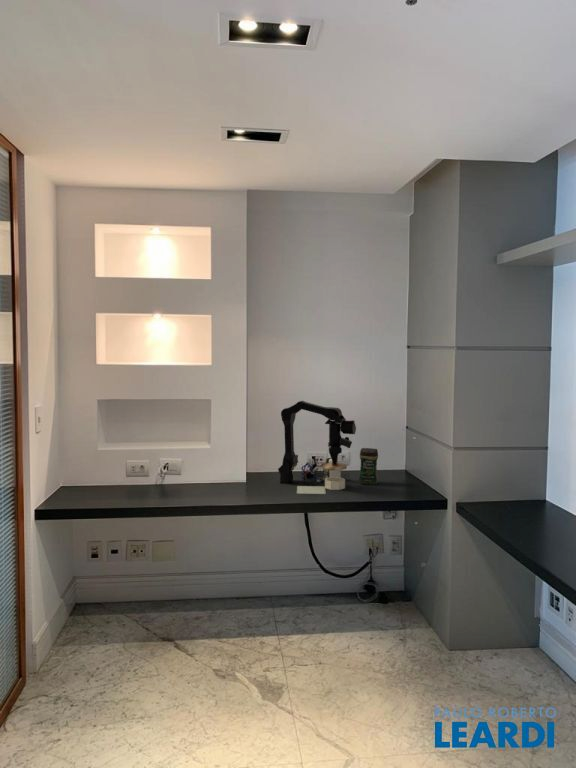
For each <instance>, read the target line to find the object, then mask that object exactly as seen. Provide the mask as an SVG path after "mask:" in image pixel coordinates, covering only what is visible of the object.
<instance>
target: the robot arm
mask: <svg viewBox="0 0 576 768" xmlns="http://www.w3.org/2000/svg"><path fill="white" fill-rule="evenodd" d="M302 410H304V411H307V412H311V413H313V414H318V415H322V416H323V417H325V418H326V419H327V421H325V425H329V426H328V443H327V446H328V453H329V455H330V458H332V461H333V464H334V465H336V462H337V457H338V456H339V455H340V454H342V452H343V451H342V449H343V448H342V446H343V447H346V448H348V449H350V448H351V447H352V443H353V442H352V441H351V440H350V438H349V437H348V436H345V437H342V435H341V433H342V434H344V435H356V432H357V426H356V423H355V420H353V419H352V420H347V419H346V417H344V415H343V412H342V410H341V409H340V408H339V407H333V406H332V407H331V406H329V407H328V406H327V407H326V406H323V405H319V404H314V403H311V402H307V401H304V400H300V401H297V402H296V403H295V404H292V405H291V406H289V407H286V408H283V409H282V410H281V412H280V415H281V421H282V424H283V426H284V455H283V458H282V464H281V465H280V466H279V468H277V470H278V473H279V475H280V477H279V484H281V485H283V484H285V485H288V484H289V485H290V484H291V485H292V484H293V483H294V473H293V471H294V469H295V468H296V467H297V466H298V463H299V459H298V457H299V455H298V454H296V453H295V447H294V446H295V445H294V441H295V440H294V438H295V437H294V422H295V420H296V414H298V413H299V412H301V411H302Z"/></svg>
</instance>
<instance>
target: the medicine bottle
mask: <svg viewBox="0 0 576 768" xmlns="http://www.w3.org/2000/svg"><path fill="white" fill-rule="evenodd" d="M326 463H332V458H331V457H328V458H326V459H325V464H326ZM341 471H342V470H327V469H324V468H323V467H322V480H323V479H324V480H323V481H325V478H329V477H340V478H342V477H341V476H342V474H341V473H342V472H341Z"/></svg>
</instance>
